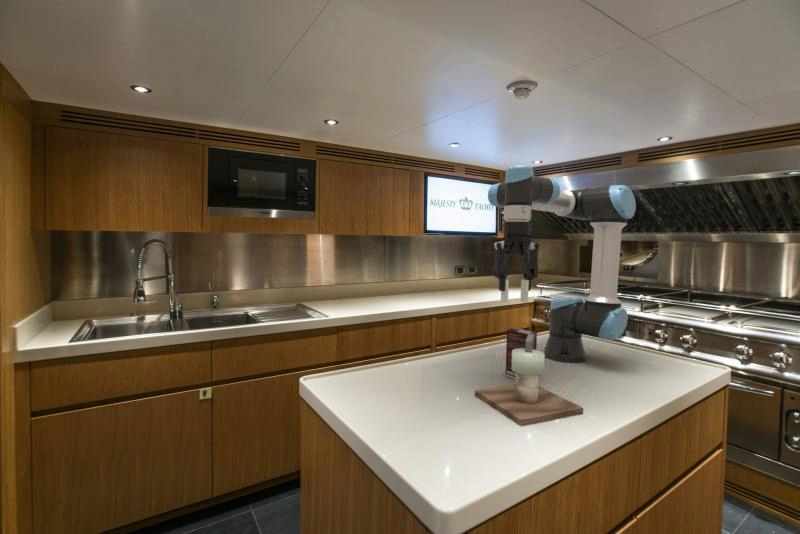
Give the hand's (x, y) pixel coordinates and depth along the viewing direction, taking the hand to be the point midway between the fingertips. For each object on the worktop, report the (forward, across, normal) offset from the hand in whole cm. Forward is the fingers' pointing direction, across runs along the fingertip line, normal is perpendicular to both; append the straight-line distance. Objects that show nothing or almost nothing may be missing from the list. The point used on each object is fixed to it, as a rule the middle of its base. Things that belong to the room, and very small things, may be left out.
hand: (514, 302), depth 113 cm
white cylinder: (+18, +2, -6) cm, 19 cm away
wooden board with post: (+27, 0, -8) cm, 28 cm away
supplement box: (+27, +10, +10) cm, 31 cm away
